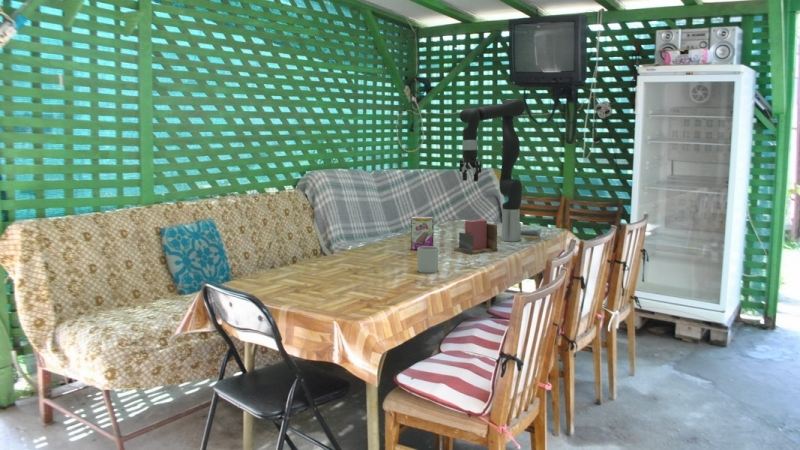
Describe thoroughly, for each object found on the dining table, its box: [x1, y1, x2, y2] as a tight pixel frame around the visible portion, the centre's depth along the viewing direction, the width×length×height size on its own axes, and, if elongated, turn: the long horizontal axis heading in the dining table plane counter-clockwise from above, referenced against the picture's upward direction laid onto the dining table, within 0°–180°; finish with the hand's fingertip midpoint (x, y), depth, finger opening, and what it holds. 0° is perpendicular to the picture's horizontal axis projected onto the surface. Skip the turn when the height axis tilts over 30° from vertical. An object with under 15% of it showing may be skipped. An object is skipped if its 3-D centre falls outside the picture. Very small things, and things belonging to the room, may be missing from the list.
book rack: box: [453, 222, 498, 256], centre depth 332 cm, size 17×13×13 cm
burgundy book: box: [464, 219, 488, 250], centre depth 332 cm, size 10×4×14 cm, turn 123°
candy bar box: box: [410, 216, 435, 251], centre depth 337 cm, size 11×5×16 cm, turn 84°
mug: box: [416, 246, 439, 274], centre depth 288 cm, size 11×10×10 cm
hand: (470, 180), depth 341 cm, fingers open, 8 cm apart
